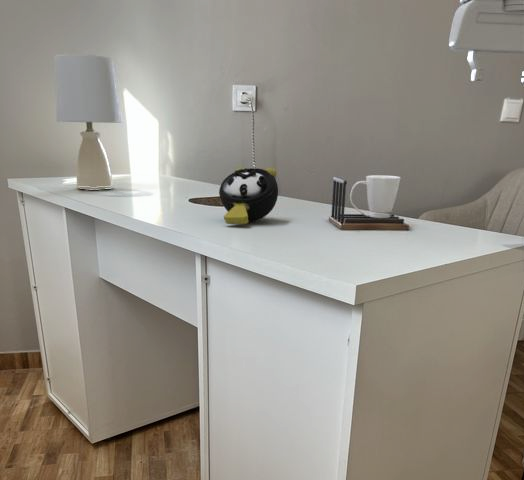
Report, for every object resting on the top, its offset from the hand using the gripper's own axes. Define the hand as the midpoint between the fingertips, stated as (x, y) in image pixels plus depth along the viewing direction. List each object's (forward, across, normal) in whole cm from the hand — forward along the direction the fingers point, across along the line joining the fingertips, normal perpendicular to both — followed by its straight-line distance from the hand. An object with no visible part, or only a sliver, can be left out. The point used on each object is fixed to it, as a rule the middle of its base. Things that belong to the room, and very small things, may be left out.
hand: (502, 81), depth 98 cm
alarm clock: (+27, +44, -16) cm, 54 cm away
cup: (+26, +18, -12) cm, 33 cm away
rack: (+27, +19, -11) cm, 35 cm away
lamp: (+27, +88, -81) cm, 123 cm away
